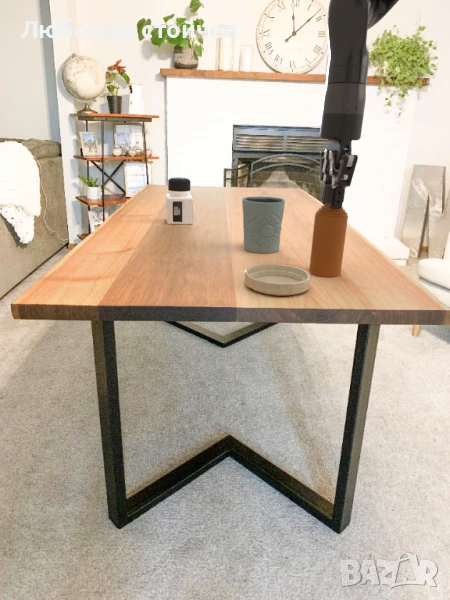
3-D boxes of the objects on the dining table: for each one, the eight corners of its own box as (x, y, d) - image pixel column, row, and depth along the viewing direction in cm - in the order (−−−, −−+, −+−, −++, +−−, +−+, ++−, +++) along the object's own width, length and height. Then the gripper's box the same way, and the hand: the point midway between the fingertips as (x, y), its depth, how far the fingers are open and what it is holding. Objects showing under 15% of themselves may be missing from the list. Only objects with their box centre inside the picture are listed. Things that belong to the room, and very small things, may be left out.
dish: (297, 275, 89) (299, 263, 88) (318, 296, 78) (319, 283, 77) (239, 276, 88) (240, 264, 87) (252, 298, 77) (252, 284, 76)
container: (193, 224, 132) (193, 179, 127) (167, 224, 131) (166, 179, 126) (190, 219, 139) (191, 176, 134) (166, 219, 138) (165, 176, 133)
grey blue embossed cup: (269, 256, 102) (273, 204, 97) (231, 249, 107) (233, 198, 102) (288, 248, 110) (292, 199, 105) (252, 241, 115) (255, 194, 110)
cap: (346, 203, 85) (348, 186, 84) (326, 203, 85) (328, 186, 84) (338, 200, 89) (340, 183, 88) (319, 200, 88) (321, 183, 87)
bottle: (333, 267, 95) (343, 186, 89) (345, 276, 90) (356, 191, 83) (305, 267, 94) (313, 186, 88) (315, 277, 89) (324, 190, 82)
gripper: (379, 111, 75) (364, 213, 81) (347, 113, 88) (336, 201, 94) (337, 110, 74) (325, 213, 80) (310, 112, 87) (302, 200, 93)
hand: (331, 206), depth 87 cm, fingers closed on cap, 3 cm apart
